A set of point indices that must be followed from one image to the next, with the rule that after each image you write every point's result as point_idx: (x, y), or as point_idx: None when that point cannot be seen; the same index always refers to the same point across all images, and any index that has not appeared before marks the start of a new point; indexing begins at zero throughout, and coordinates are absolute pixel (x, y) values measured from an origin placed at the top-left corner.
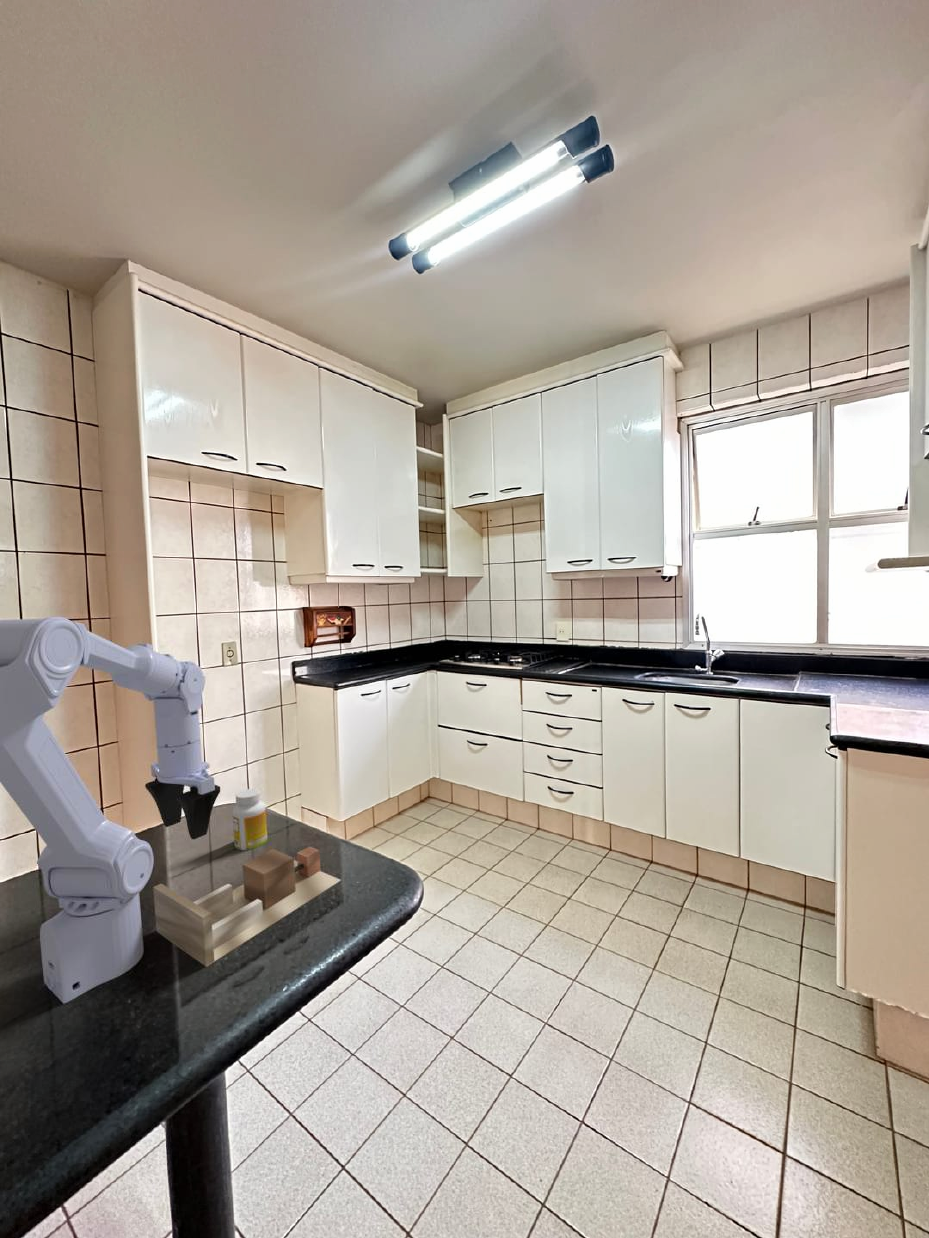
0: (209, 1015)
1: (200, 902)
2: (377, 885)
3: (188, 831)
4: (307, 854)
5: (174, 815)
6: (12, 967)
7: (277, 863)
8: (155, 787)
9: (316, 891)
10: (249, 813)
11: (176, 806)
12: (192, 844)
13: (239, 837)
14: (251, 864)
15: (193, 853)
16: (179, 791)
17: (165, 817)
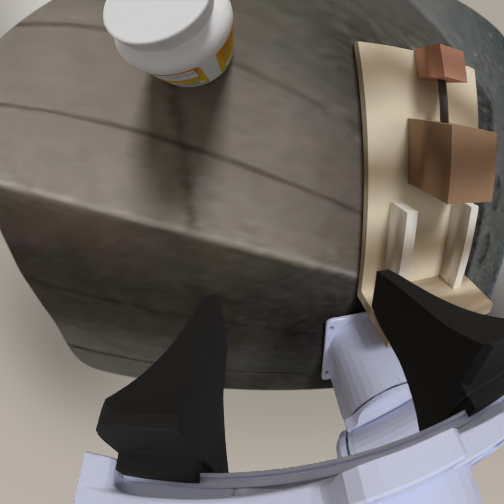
0: (479, 287)
1: (409, 267)
2: (492, 54)
3: (380, 326)
4: (461, 73)
5: (218, 329)
6: (264, 389)
7: (490, 164)
8: (225, 472)
9: (471, 109)
10: (225, 34)
11: (213, 344)
12: (75, 154)
13: (204, 77)
14: (461, 194)
15: (116, 163)
16: (204, 382)
17: (224, 354)
